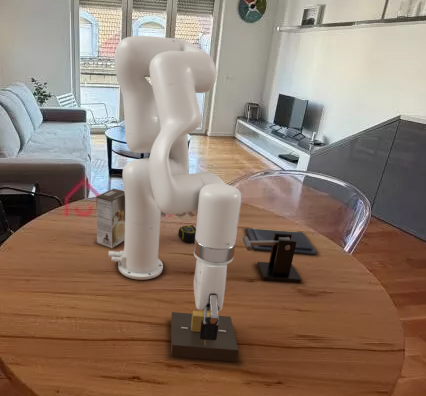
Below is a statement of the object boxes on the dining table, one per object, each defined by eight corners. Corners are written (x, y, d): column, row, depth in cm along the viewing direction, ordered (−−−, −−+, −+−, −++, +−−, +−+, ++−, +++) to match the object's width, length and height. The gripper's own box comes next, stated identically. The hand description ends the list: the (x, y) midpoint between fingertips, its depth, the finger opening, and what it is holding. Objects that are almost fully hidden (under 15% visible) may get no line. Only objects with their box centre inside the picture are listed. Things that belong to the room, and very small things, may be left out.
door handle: (246, 252, 99) (246, 244, 98) (242, 241, 104) (242, 234, 103) (292, 251, 98) (293, 243, 97) (285, 241, 103) (286, 233, 103)
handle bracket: (263, 280, 100) (270, 242, 96) (256, 265, 108) (263, 229, 104) (300, 283, 100) (309, 245, 96) (291, 267, 107) (299, 231, 103)
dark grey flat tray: (253, 244, 115) (246, 224, 130) (252, 250, 116) (245, 229, 130) (318, 251, 114) (304, 229, 128) (317, 256, 114) (303, 234, 128)
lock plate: (171, 356, 73) (172, 344, 72) (170, 322, 83) (171, 311, 82) (236, 361, 73) (238, 349, 72) (228, 327, 82) (230, 315, 81)
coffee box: (113, 232, 123) (114, 187, 117) (129, 237, 120) (130, 192, 114) (96, 243, 116) (95, 195, 110) (112, 249, 113) (113, 200, 107)
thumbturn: (191, 331, 76) (193, 314, 75) (191, 326, 78) (192, 309, 76) (215, 333, 76) (218, 316, 74) (214, 327, 77) (217, 311, 76)
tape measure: (202, 243, 119) (203, 232, 118) (182, 245, 117) (183, 234, 116) (193, 233, 125) (194, 223, 124) (174, 235, 123) (175, 225, 122)
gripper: (191, 228, 78) (185, 296, 84) (197, 271, 62) (189, 351, 68) (227, 230, 78) (218, 298, 84) (242, 274, 61) (230, 354, 67)
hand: (205, 322), depth 76 cm, fingers open, 9 cm apart
